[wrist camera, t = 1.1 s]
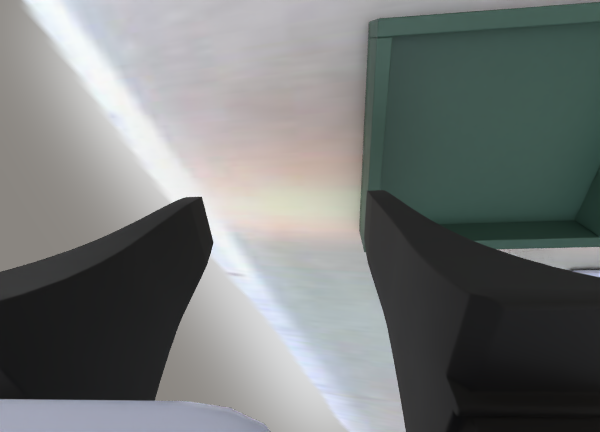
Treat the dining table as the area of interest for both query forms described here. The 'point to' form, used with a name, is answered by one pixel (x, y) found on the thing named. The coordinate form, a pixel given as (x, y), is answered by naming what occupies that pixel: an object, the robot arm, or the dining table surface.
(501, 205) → the tray
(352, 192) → the dining table surface
